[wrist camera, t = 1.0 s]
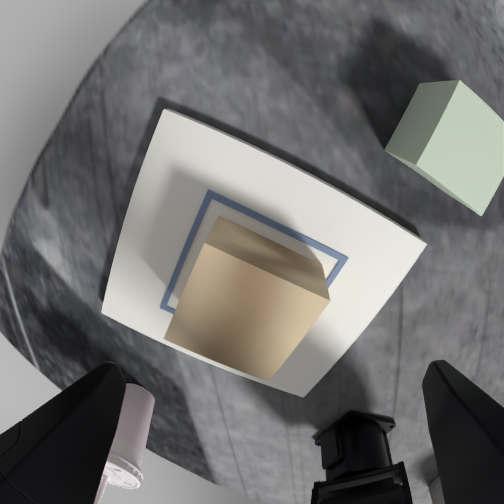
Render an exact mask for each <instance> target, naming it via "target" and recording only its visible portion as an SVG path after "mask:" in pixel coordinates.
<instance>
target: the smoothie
mask: <svg viewBox="0 0 504 504" xmlns="http://www.w3.org/2000/svg"><path fill="white" fill-rule="evenodd" d="M154 402H155V400H154V397H153V395H152V394H151V393H150V392H149V391H148V390H146V389H145V388H143V387H141V386H139V385H136V384H131V383H128V384H126V391H125V395H124V400H123V404H122V408H121V413H120V418H119V422H118V427H117V430H116V434H115V437H114V440H113V443H112V446H111V449H110V452H109V455H108V459H107V462H106V465H105V468H104V471H103V475H102V478H101V482H100V485H99V488H98V491H97V495H96V498H95V502H94V504H100V501H101V498H102V496H103V493H104V490H105V487H106V485H107V483H109V484H112V485H115V486H118V487H122V488H127V489H136V488H139V487H140V484H141V481H142V480H143V475H142V473H141V468H142V463H143V457H144V452H145V447H146V441H147V436H148V431H149V426H150V421H151V416H152V411H153V406H154Z"/></svg>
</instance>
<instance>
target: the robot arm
mask: <svg viewBox="0 0 504 504" xmlns="http://www.w3.org/2000/svg"><path fill="white" fill-rule="evenodd" d="M422 389H423V395H424V401H425V407H426V413H427V420H428V427H429V433H430V437H431V441H432V445H433V449H434V454H435V458H436V462H437V467H438V471H439V476H440V481H441V486H442V491H443V497H444V502H445V504H504V408H503V407H502V406H501V405H500V404H499V403H497V402H496V401H495V400H494V399H492V398H491V397H490V396H489V395H488V394H486V393H485V392H484V391H483V390H481V389H480V388H479V387H478V386H476V385H475V384H474V383H473V382H471V381H470V380H469V379H468V378H466V377H465V376H464V375H463V374H461V373H460V372H459V371H458V370H456V369H455V368H454V367H453V366H451V365H450V364H449V363H448V362H446V361H445V360H436V361H432V362H431V363H430V364H429V366H428V369H427V371H426V374H425V376H424V379H423V383H422ZM125 391H126V381H125V379H124V376H123V374H122V372H121V370H120V367H119V365H118V364H117V363H114V362H107V361H106V362H103V363H101V364H100V365H99V366H97V367H96V368H94V369H93V370H92V371H90V372H89V373H87V374H86V375H84V376H83V377H82V378H80V379H79V380H77V381H76V382H75V383H73V384H72V385H70V386H69V387H68V388H66V389H65V390H63V391H62V392H61V393H59V394H58V395H56V396H55V397H53V398H52V399H51V400H49V401H48V402H46V403H45V404H44V405H42V406H41V407H39V408H38V409H37V410H35V411H34V412H33V413H31V414H29V415H28V416H27V417H25V418H24V419H22V421H19V422H18V423H17V424H15V425H14V426H12V427H11V428H9V429H8V430H6V431H5V432H3V433H2V434H0V504H94V502H95V498H96V495H97V491H98V488H99V485H100V481H101V478H102V475H103V471H104V468H105V465H106V462H107V459H108V455H109V452H110V449H111V446H112V443H113V440H114V437H115V434H116V430H117V427H118V422H119V418H120V413H121V408H122V404H123V400H124V395H125ZM395 426H396V424H395V422H394V421H390V420H386V419H382V418H378V417H374V416H369V415H366V414H362V413H358V412H354V411H351V412H348V413H347V414H346V415H344V416H343V417H342V418H341V419H340V420H339V421H337V422H336V423H335V424H334V425H333V426H332V427H330V428H329V429H328V430H327V431H326V432H324V433H323V434H322V435H321V436H320V437H318V438H317V439H316V440H315V445H317V446H321V455H322V468H323V469H325V470H326V481H323V482H320V481H318V482H314V488H313V489H312V497H311V504H413V502H412V496H411V491H410V487H409V483H408V478H407V474H406V470H405V466H404V462H403V461H401V462H398V464H394V465H393V463H392V458H391V453H390V448H389V444H388V439H387V433H388V432H389V431H391V430H392V429H393V428H394V427H395Z"/></svg>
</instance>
